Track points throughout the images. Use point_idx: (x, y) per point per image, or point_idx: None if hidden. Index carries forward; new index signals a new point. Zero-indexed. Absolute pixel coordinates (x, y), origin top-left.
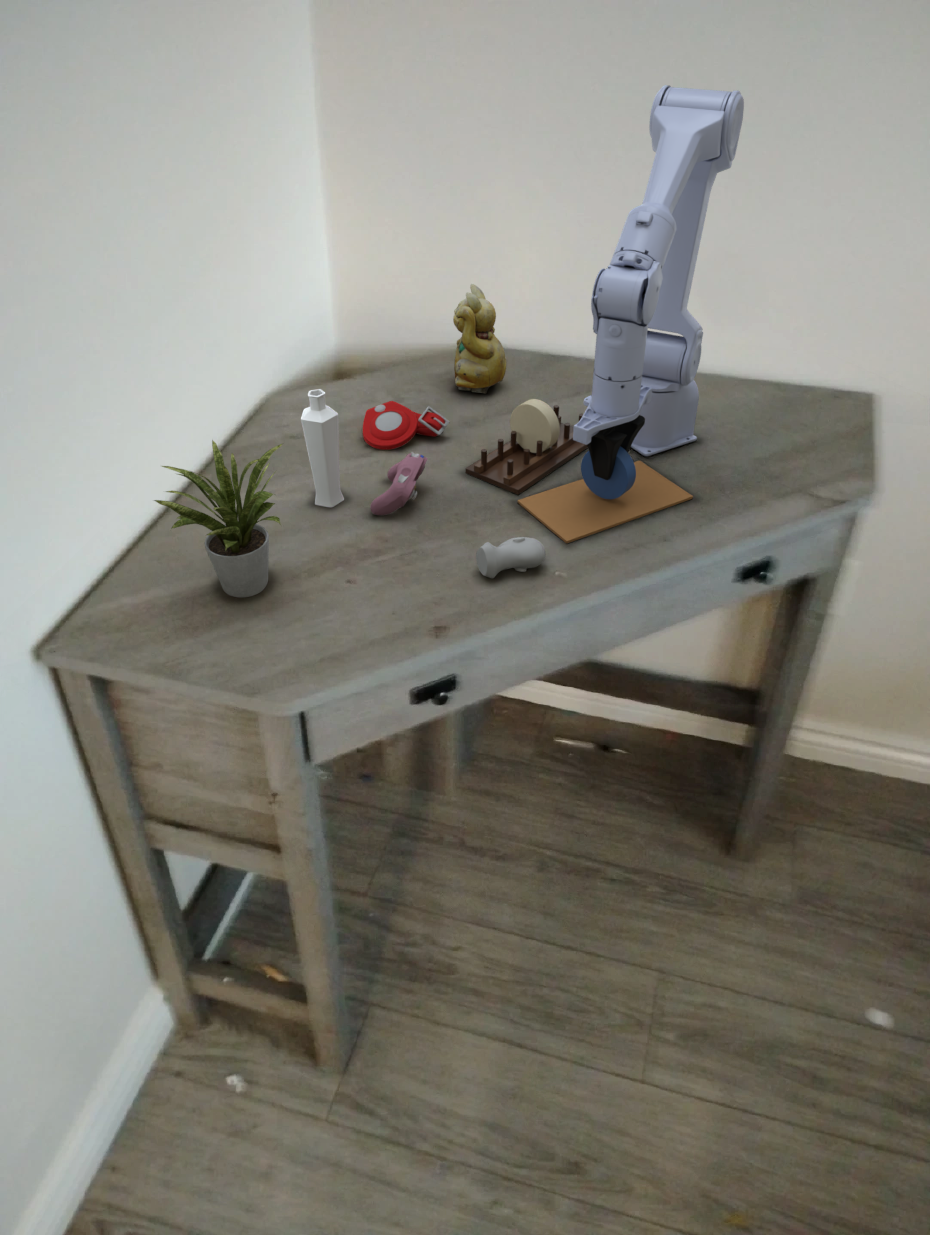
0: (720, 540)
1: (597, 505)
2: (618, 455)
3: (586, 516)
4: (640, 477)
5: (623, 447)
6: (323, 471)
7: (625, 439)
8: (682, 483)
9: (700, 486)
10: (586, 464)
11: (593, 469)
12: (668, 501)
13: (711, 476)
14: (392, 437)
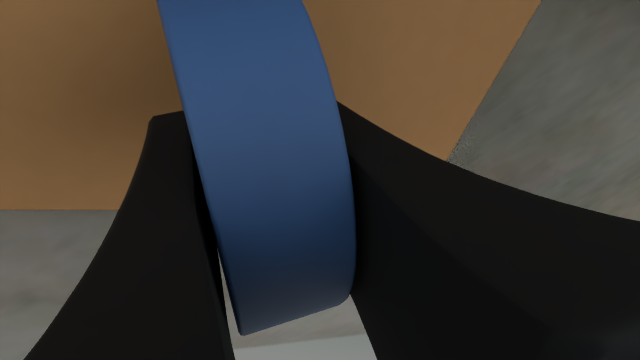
0: (283, 333)
1: (129, 80)
2: (257, 330)
3: (3, 115)
4: (447, 43)
5: (357, 293)
6: None
7: (385, 356)
8: (479, 137)
9: (482, 173)
10: (167, 44)
11: (145, 140)
12: None
13: (542, 155)
14: None
